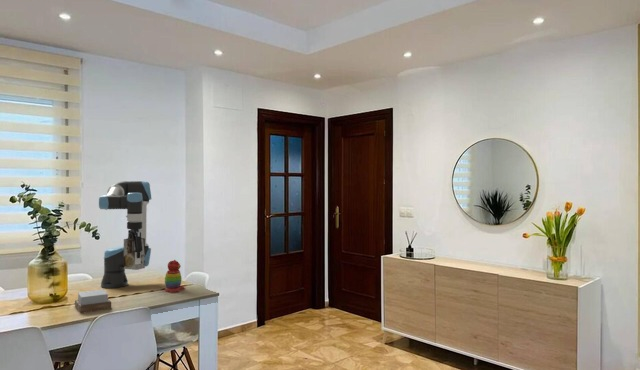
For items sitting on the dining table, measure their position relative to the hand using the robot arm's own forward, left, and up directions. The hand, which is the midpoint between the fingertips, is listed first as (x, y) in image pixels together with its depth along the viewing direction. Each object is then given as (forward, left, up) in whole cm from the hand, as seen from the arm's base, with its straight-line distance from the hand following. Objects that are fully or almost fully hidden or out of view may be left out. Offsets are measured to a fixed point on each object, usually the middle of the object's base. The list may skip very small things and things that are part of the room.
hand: (134, 262), depth 239 cm
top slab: (-1, -20, -18) cm, 27 cm away
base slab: (-1, -20, -22) cm, 30 cm away
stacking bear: (-11, +26, -21) cm, 35 cm away
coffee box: (0, 0, -3) cm, 3 cm away
